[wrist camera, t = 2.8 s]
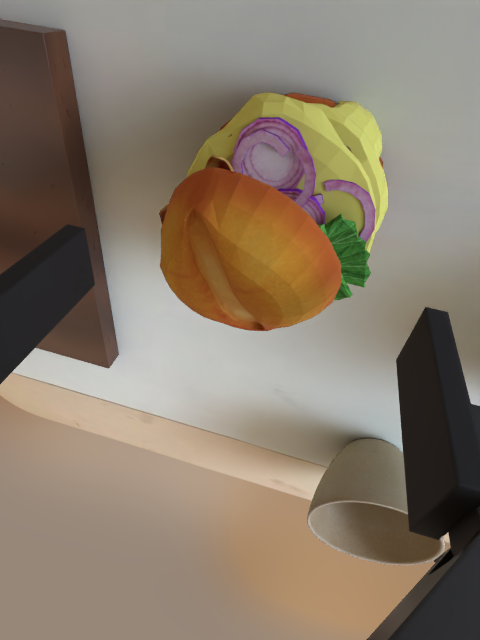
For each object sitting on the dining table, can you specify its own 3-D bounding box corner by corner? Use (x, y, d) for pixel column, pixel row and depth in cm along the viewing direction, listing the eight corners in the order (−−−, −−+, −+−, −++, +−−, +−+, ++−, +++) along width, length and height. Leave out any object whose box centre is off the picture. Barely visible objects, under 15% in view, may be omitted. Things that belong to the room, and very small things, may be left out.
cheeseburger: (444, 185, 19) (418, 338, 13) (300, 271, 27) (247, 387, 22) (303, 14, 16) (195, 119, 11) (190, 168, 24) (96, 272, 19)
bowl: (432, 421, 30) (445, 512, 25) (434, 488, 36) (444, 574, 30) (307, 418, 34) (294, 496, 29) (326, 479, 39) (318, 553, 34)
